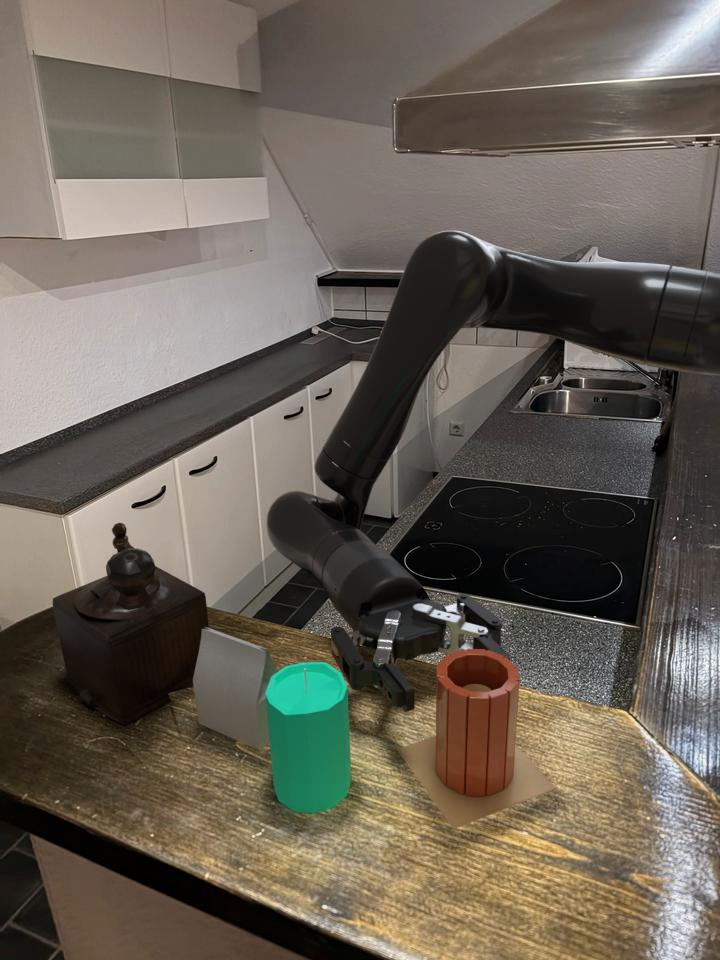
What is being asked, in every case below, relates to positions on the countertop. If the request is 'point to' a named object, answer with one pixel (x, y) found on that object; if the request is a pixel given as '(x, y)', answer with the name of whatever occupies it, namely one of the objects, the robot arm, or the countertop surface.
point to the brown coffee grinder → (130, 634)
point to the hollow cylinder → (476, 722)
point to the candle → (309, 736)
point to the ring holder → (460, 806)
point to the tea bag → (233, 687)
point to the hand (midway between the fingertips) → (459, 686)
